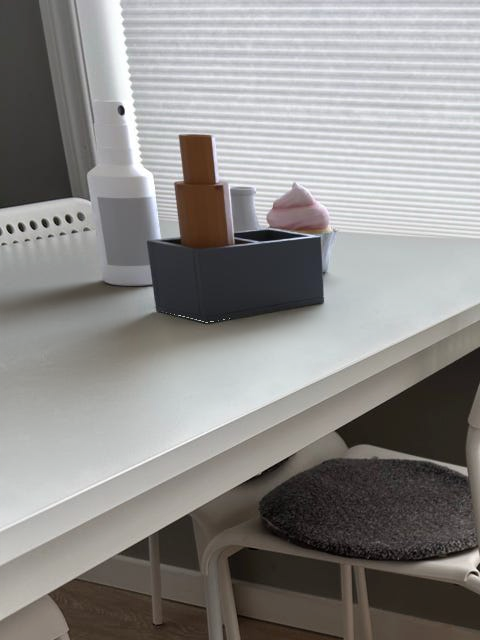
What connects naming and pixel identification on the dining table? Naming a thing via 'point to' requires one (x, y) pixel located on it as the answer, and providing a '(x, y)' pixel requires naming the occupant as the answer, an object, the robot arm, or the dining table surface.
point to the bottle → (202, 195)
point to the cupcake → (303, 218)
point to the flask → (243, 208)
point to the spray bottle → (121, 199)
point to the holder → (237, 275)
